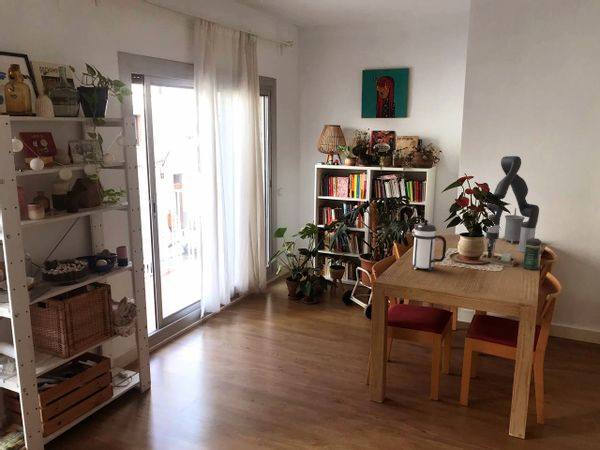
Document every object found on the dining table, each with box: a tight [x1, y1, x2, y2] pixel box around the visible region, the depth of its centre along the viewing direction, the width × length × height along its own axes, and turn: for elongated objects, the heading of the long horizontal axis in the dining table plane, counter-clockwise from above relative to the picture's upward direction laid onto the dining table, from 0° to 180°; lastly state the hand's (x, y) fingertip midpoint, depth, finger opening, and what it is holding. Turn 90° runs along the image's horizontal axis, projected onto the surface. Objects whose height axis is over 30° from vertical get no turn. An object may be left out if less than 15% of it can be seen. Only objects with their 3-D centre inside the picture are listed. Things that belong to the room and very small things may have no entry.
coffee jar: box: [522, 237, 542, 271], centre depth 295 cm, size 10×8×19 cm
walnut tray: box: [479, 253, 517, 268], centre depth 309 cm, size 11×20×3 cm, turn 57°
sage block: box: [500, 252, 512, 262], centre depth 306 cm, size 5×5×5 cm
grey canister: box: [501, 207, 526, 245], centre depth 362 cm, size 19×15×25 cm
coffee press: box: [411, 219, 447, 272], centre depth 289 cm, size 17×16×30 cm
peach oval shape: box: [486, 247, 496, 258], centre depth 311 cm, size 5×5×6 cm
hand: (490, 256), depth 311 cm, fingers closed on peach oval shape, 4 cm apart
